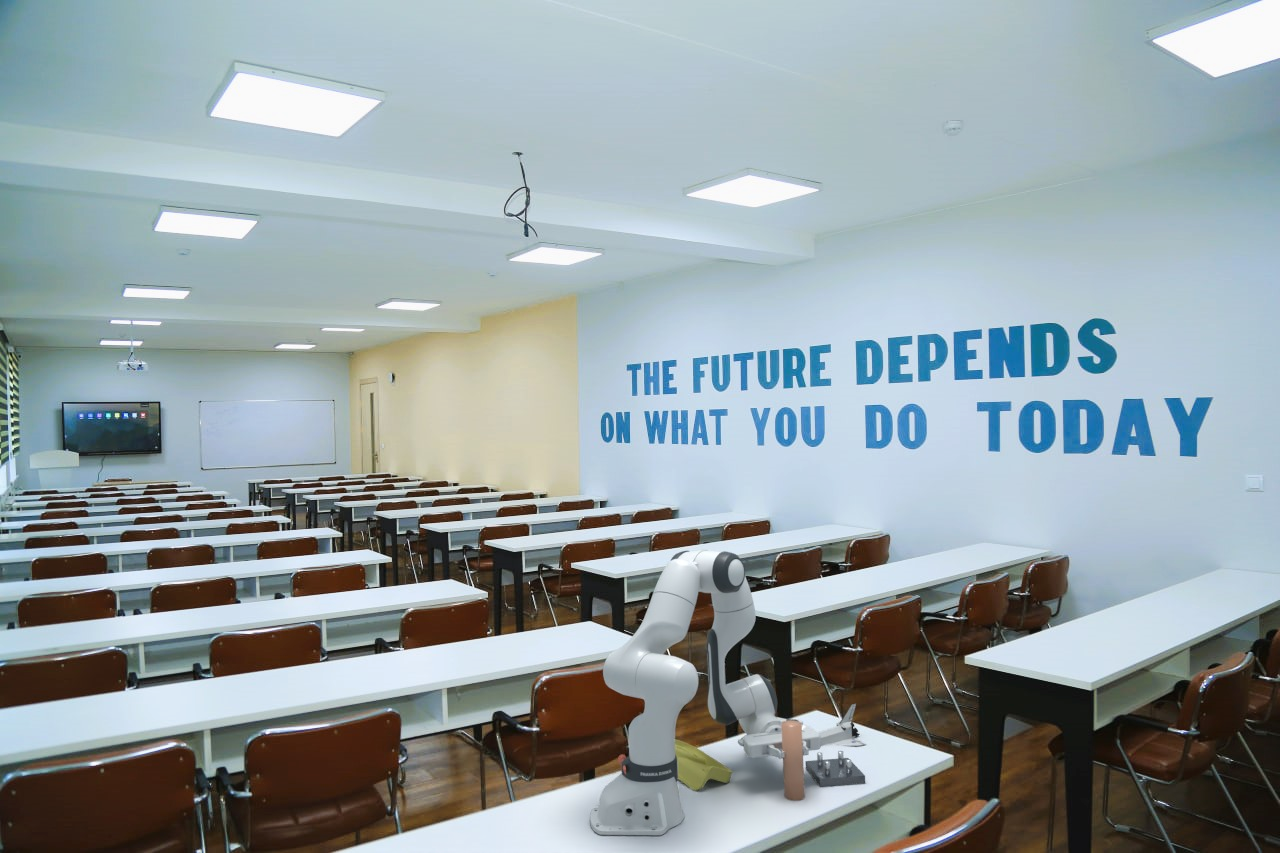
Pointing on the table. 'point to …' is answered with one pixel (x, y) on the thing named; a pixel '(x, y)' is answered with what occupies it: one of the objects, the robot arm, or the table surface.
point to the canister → (793, 760)
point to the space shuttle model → (842, 732)
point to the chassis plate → (834, 771)
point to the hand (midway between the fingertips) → (794, 753)
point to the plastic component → (698, 766)
